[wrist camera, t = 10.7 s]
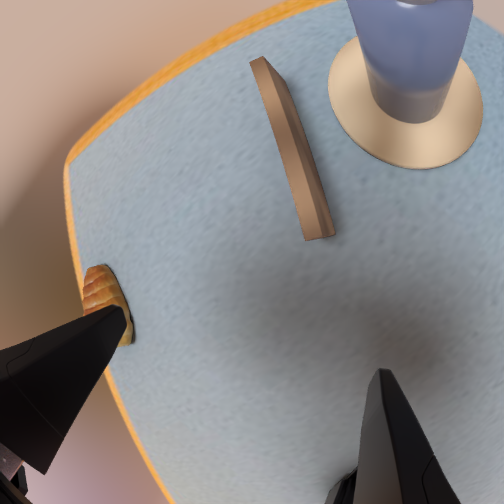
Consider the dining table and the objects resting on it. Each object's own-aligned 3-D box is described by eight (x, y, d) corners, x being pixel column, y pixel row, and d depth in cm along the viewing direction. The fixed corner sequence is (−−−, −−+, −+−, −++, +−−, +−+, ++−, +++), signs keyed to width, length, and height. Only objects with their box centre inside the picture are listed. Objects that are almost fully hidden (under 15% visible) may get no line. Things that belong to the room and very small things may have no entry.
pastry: (89, 270, 32) (64, 275, 28) (119, 257, 29) (90, 260, 25) (110, 344, 31) (86, 353, 28) (143, 342, 28) (117, 353, 25)
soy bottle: (458, 94, 13) (502, -41, 2) (411, 139, 15) (432, 6, 4) (401, 45, 14) (377, -98, 3) (354, 86, 16) (290, -56, 5)
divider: (335, 234, 19) (322, 236, 15) (321, 238, 19) (305, 241, 15) (284, 80, 19) (262, 55, 15) (273, 85, 19) (249, 62, 16)
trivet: (483, 60, 12) (485, 55, 11) (465, 195, 14) (469, 193, 14) (347, 21, 16) (345, 15, 15) (312, 140, 19) (309, 137, 18)
